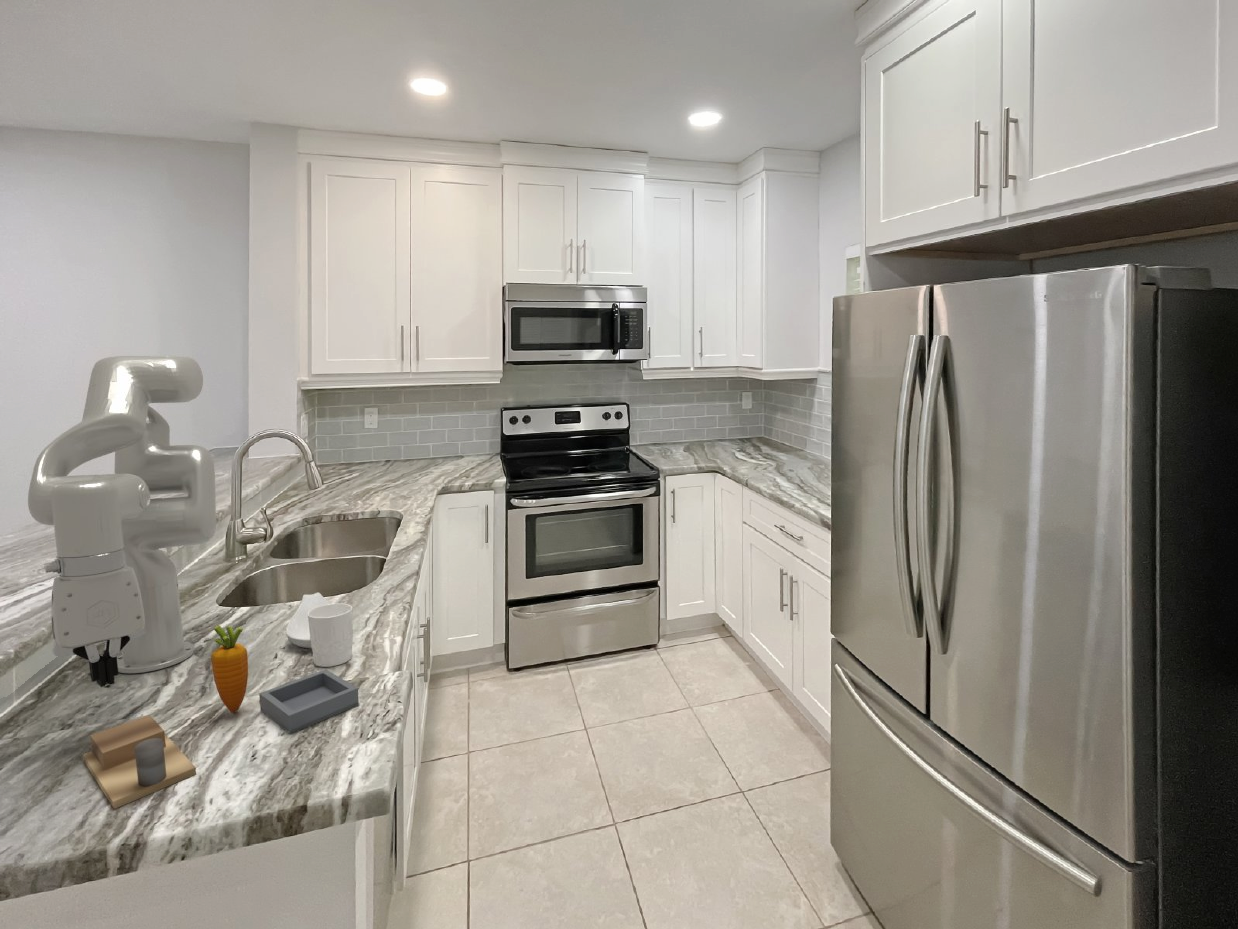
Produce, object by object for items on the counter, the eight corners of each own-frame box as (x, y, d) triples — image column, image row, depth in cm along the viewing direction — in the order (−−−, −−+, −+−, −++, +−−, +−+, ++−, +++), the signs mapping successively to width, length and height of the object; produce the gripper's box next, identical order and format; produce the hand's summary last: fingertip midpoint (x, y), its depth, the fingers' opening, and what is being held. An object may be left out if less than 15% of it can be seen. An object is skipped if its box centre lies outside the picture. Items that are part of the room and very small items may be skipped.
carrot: (259, 708, 102) (252, 621, 100) (231, 723, 97) (223, 633, 95) (237, 703, 104) (229, 617, 102) (209, 718, 99) (200, 629, 97)
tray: (260, 710, 101) (259, 693, 101) (327, 685, 110) (325, 669, 109) (290, 734, 94) (289, 715, 94) (358, 705, 103) (357, 688, 102)
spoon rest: (353, 647, 126) (351, 613, 125) (289, 661, 120) (286, 625, 119) (337, 611, 146) (335, 582, 145) (280, 621, 140) (278, 591, 139)
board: (83, 761, 88) (78, 721, 87) (159, 733, 95) (155, 696, 94) (113, 809, 78) (108, 765, 77) (196, 774, 85) (192, 733, 84)
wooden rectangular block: (92, 751, 88) (90, 735, 88) (151, 730, 94) (149, 714, 93) (104, 770, 84) (102, 753, 84) (165, 746, 89) (164, 730, 89)
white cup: (339, 670, 115) (336, 618, 114) (301, 667, 117) (298, 616, 115) (363, 652, 123) (360, 604, 122) (326, 650, 124) (323, 602, 123)
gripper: (28, 580, 83) (43, 710, 85) (161, 557, 94) (172, 672, 96) (18, 571, 87) (33, 694, 89) (147, 550, 99) (157, 660, 101)
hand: (105, 682), depth 93 cm, fingers closed
